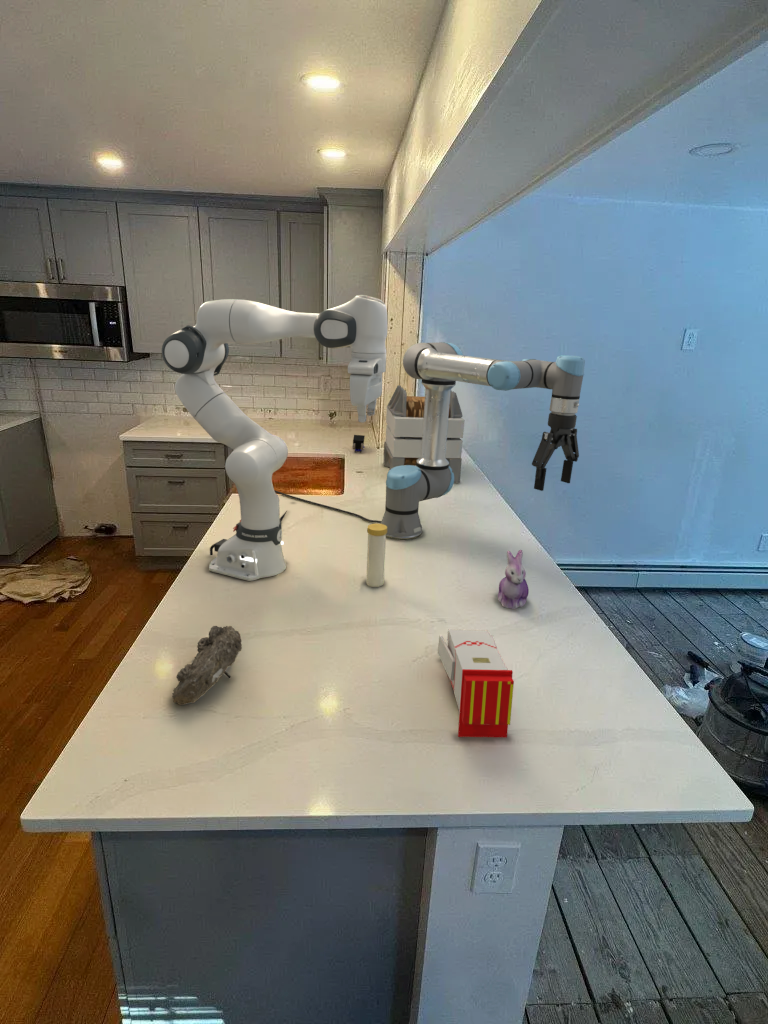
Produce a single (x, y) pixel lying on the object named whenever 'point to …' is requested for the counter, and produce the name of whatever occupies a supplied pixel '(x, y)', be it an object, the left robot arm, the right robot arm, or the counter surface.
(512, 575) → the figurine
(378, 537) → the jar
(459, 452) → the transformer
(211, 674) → the fossil
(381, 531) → the lid
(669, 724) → the counter surface
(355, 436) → the figurine character
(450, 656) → the toy
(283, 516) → the feather
